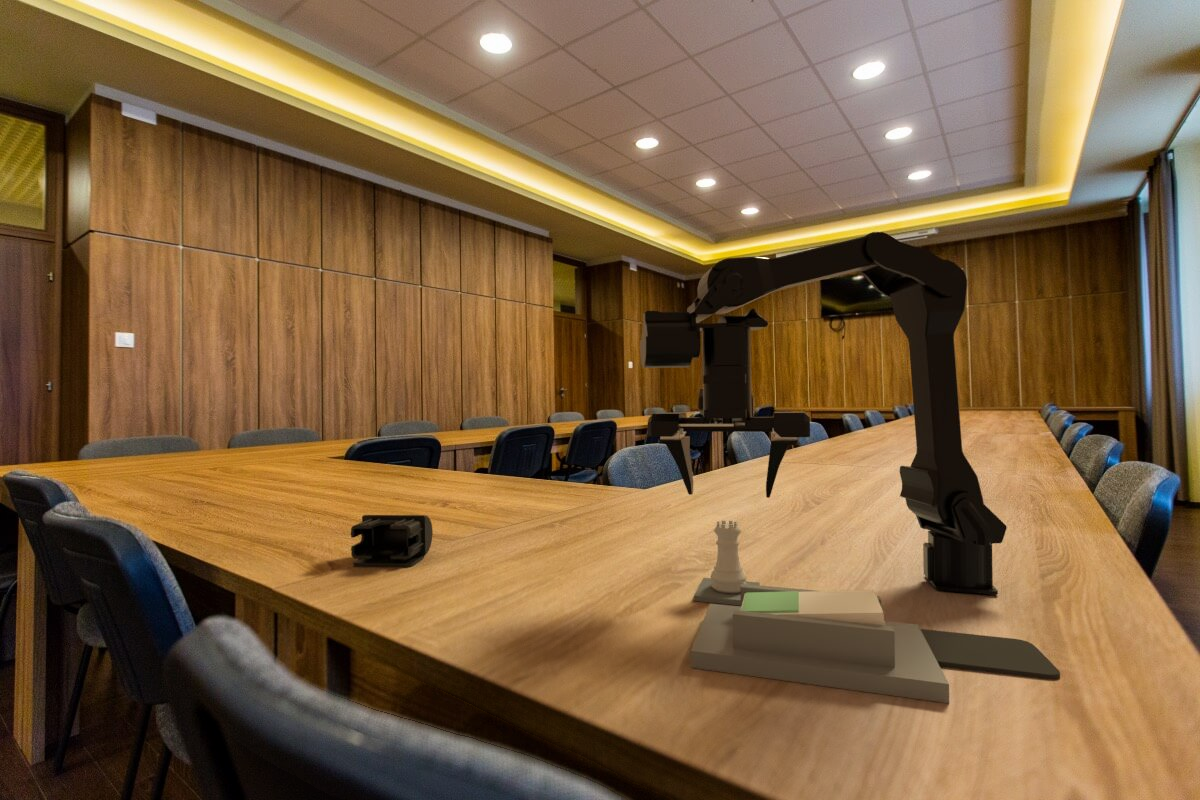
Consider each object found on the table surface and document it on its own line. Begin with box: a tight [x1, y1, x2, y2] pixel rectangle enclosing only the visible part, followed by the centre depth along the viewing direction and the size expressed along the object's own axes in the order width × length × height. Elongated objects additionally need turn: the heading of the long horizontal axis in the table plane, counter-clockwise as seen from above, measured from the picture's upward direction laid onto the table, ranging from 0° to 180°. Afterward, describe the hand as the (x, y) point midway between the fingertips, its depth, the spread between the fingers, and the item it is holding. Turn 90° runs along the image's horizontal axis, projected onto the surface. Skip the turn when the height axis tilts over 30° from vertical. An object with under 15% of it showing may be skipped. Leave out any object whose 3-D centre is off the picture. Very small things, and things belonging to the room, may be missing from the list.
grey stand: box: [690, 584, 950, 704], centre depth 53 cm, size 20×12×4 cm, turn 71°
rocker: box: [740, 589, 886, 626], centre depth 53 cm, size 12×6×2 cm, turn 71°
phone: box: [920, 628, 1061, 681], centre depth 53 cm, size 7×1×15 cm
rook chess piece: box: [710, 520, 747, 594], centre depth 69 cm, size 4×4×8 cm
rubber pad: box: [693, 577, 761, 607], centre depth 69 cm, size 7×7×1 cm
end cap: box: [350, 514, 433, 569], centre depth 86 cm, size 10×7×7 cm
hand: (728, 495), depth 69 cm, fingers open, 9 cm apart
